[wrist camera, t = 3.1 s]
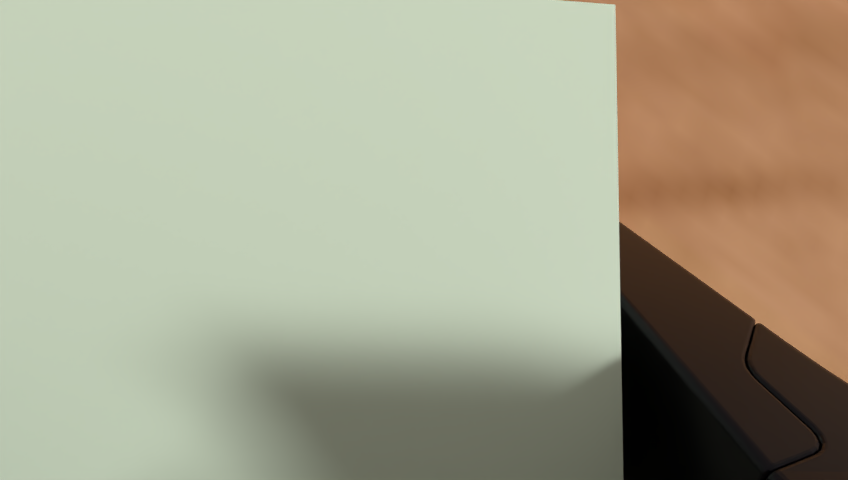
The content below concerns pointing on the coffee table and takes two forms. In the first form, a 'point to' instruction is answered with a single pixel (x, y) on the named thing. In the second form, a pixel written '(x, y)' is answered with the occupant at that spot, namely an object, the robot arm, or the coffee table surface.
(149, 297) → the block
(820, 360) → the coffee table surface
